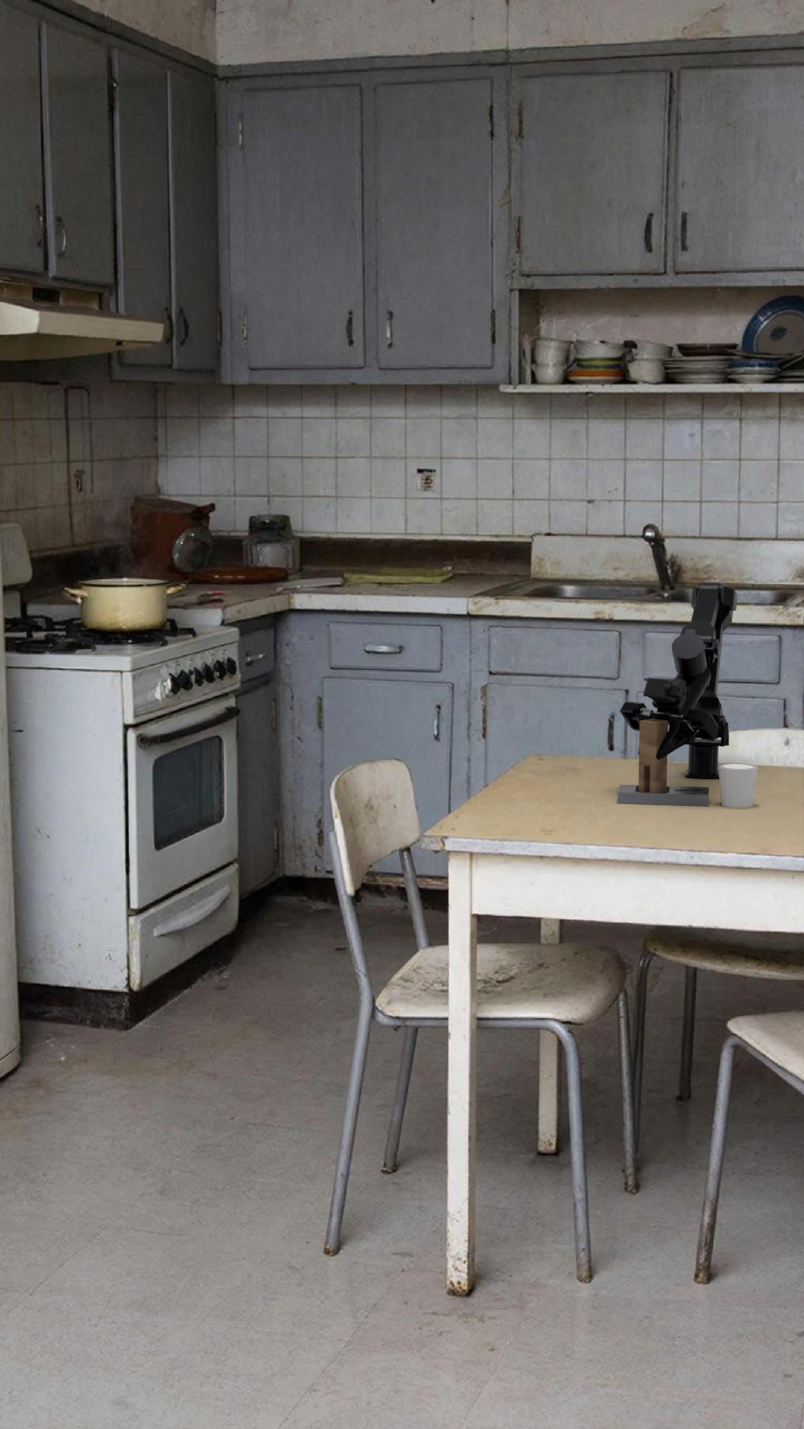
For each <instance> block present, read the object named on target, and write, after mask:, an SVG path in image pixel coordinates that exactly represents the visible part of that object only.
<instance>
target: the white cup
mask: <svg viewBox="0 0 804 1429" xmlns="http://www.w3.org/2000/svg"><path fill="white" fill-rule="evenodd" d="M718 770H719V778H718V779H719V791H720V792H719V793H720V804H721V806H723V807H727V808H733V809H745V808H752V807H753V806H754V802H755V801H754V800H755V793H756V792H755V791H756V784H757V777H758V766H757V765H754V764H748V763H741V762H740V763H735V762H734V763H723V764H718Z"/></svg>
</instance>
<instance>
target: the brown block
mask: <svg viewBox="0 0 804 1429" xmlns="http://www.w3.org/2000/svg"><path fill="white" fill-rule="evenodd" d="M668 730H669V726H668V721H666V720H658V719H647V720H642V721H640V731H638V732H639V739H638V740H639V741H638V742H639V743H638V749H639V755H638V785H639V787H638V792H649V791H650V792H653V793H664V792H667V786H668V755H667V756H665V757H664V758H662V759H660V760H658V759H657V758H656V754H657V752H658V749H659V747H660V746H661V744H662V742H663V740H664V738H665V736H666V734H667V732H668Z"/></svg>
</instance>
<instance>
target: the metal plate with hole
mask: <svg viewBox="0 0 804 1429" xmlns="http://www.w3.org/2000/svg"><path fill="white" fill-rule="evenodd" d="M638 787H639V784H619V787H618V791H617V804H630V805H633V804H634V805H658V804H660V805H661V804H662V805H664V804H666V805H665V806H691V807H692V806H694V807H697V806H698V807H709V806H710V804H709V803H710V802H709V801H710V787H709V786H686V785H685V786H682V785H681V786H680V785H678V786H677V785H676V786H675V785H667V792H664V793H653V792H650V791H649V792H638Z"/></svg>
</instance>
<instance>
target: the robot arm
mask: <svg viewBox="0 0 804 1429" xmlns="http://www.w3.org/2000/svg"><path fill="white" fill-rule="evenodd" d="M737 606H738V594H737V592H736V589H734V588H731V587H728V586H724V584H722V583H720V582H700V583H697V584H696V586H695V587H692V589H691V605H690V607H691V608H692V610H693V611H692V615H691V620H690V622H689V623H688V624H687V625H685V626H682V628H681V631H680V634H679V636H677V637H676V638H675V639H674V640H673V642H672V643H671V654H672V657H673V662H674V669H675V671H676V672H677V673H676V676H675V677H674V678H673V680H672V681H671V680H667V679H660V678H651V677H650V678H649V677H648V678H647V679H646V684H645V686H644V691H643V693H642V696H643V697H647V698H649V699H650V700H652V702H651V704H652V707H653V708H654V709H655V708H656V711H654V710H653V709H651V708H648V707H647V706H646V704H645V702H639V701H630V700H629V701H625V702H624V703H623V704H622V706H621V708H620V710H619V713H620V715H621V717H623V719H624V720H625V722H626V723H627V725H628V726H629V728H630V729H632V730H633V731H637V732H640V721H642V720H647V719H658V720H666V721H668V732H667V734H666V736H665V738H664V740H663V742H662V744H661V746H660V747H659V749H658V752H657V754H656V758H657V759H658V760H660V759H662V758H664V757H665V756H667V757H668V756H669V755H670V754H671V753H673V752H674V751H676V750H678V749H679V748H681V747H684V746H685V745H686V746H687V745H688V763H687V764H688V765H687V767H688V768H686V770H685V777H686V778H702V779H703V778H705V779H706V778H707V779H708V778H709V779H719V747H722V748H724V747H728V746H730V731H729V730H730V729H729V726H730V725H729V723H728V721H727V719H726V715H724V710H723V707H722V703H721V701H720V699H719V697H718V686H719V677H720V664H721V655H722V654H721V653H722V647H723V646H722V644H723V636H724V632H725V630H726V629H727V628H728V627H729V626H730V625H731V623H732V622H733V616H734V611H737V608H738V607H737ZM719 738H720V739H719ZM637 754H638V756H639V748H638V752H637Z"/></svg>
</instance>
